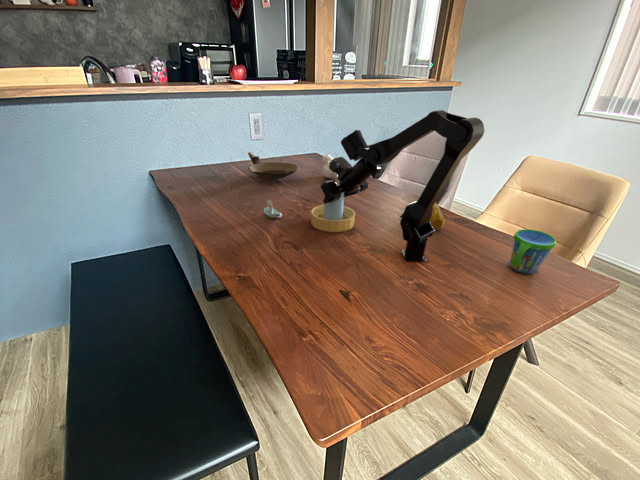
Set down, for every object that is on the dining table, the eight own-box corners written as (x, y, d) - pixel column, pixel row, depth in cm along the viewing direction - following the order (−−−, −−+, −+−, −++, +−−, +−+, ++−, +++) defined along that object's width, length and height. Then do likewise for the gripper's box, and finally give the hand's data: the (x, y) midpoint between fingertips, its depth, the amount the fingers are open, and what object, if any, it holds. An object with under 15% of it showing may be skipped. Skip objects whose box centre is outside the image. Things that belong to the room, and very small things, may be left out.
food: (443, 233, 126) (447, 216, 122) (427, 232, 126) (430, 215, 123) (434, 211, 143) (438, 196, 139) (420, 210, 143) (423, 195, 139)
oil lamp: (258, 187, 158) (256, 169, 153) (241, 169, 179) (239, 152, 174) (305, 183, 165) (306, 165, 161) (283, 165, 187) (283, 149, 182)
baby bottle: (343, 222, 125) (345, 185, 117) (324, 222, 124) (325, 184, 117) (341, 215, 130) (343, 179, 123) (322, 215, 130) (324, 178, 122)
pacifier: (277, 212, 137) (262, 213, 134) (277, 195, 133) (262, 196, 131) (284, 219, 131) (269, 220, 129) (285, 202, 128) (268, 203, 125)
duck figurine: (324, 178, 179) (312, 159, 171) (336, 167, 178) (324, 148, 170) (333, 185, 170) (320, 166, 163) (346, 174, 169) (333, 155, 161)
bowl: (356, 233, 123) (357, 221, 120) (311, 233, 122) (312, 220, 119) (351, 216, 135) (352, 204, 132) (310, 216, 134) (310, 204, 131)
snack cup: (524, 284, 101) (539, 250, 94) (491, 268, 107) (502, 235, 101) (553, 269, 108) (568, 237, 102) (520, 255, 115) (533, 224, 109)
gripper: (364, 145, 117) (336, 173, 129) (326, 154, 106) (299, 184, 118) (381, 176, 117) (352, 201, 130) (345, 188, 106) (316, 214, 119)
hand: (330, 199), depth 124 cm, fingers closed on baby bottle, 6 cm apart
